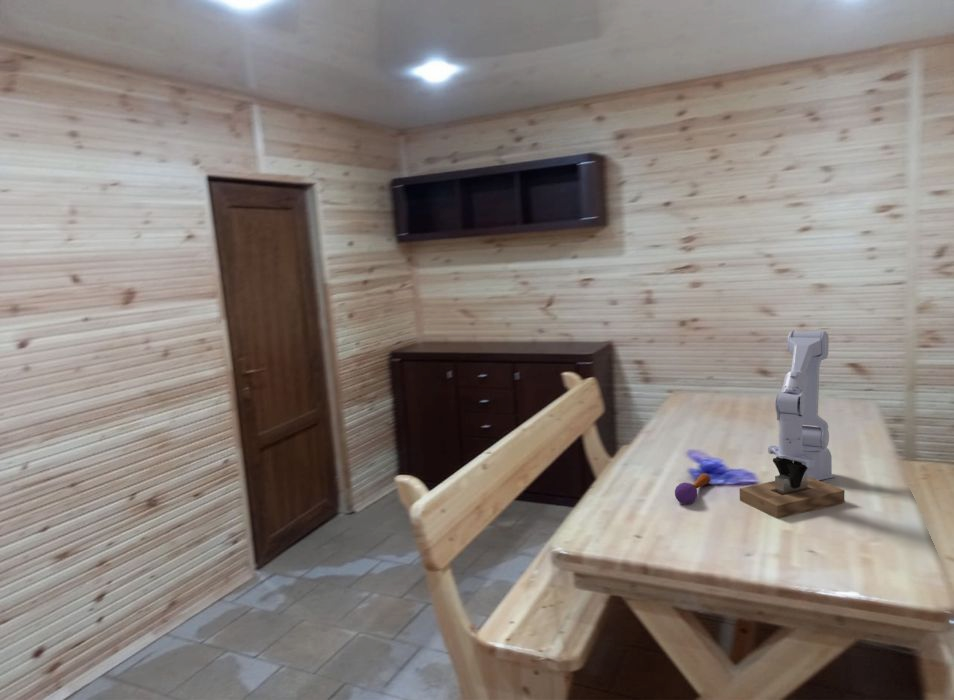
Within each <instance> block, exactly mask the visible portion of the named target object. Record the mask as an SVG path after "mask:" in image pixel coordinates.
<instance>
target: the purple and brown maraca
mask: <svg viewBox="0 0 954 700" xmlns="http://www.w3.org/2000/svg"><path fill="white" fill-rule="evenodd" d="M709 481H710V482H711V477H710V475H709V474H708V473H701V474H700V475H699V476H698V477H697V479H696V480H695V481H694V483H689V482H682V483H679V484H678V485H676V487H675V490H674V496H675V499H676V500H677V501H678V502H679V503H681V504H682V505H686V506H687V505H691V504H693V503H694V502H695V501H696V500H697V498H698V489H699V488H701V487H704V486H706V485H708V484H710V483H709Z"/></svg>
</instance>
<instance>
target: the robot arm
mask: <svg viewBox="0 0 954 700" xmlns="http://www.w3.org/2000/svg"><path fill="white" fill-rule="evenodd" d="M829 341H830V339H829V334H828V332H827V331H825V330H822V331H817V330H816V331H815V330H814V331H811V330H807V331H806V330H803V331H802V330H801V331H800V330H790V332H789V333H788V336H787V349H788V350H789V353H790V354H791V355H792V361H791V369H790V371H788V372H787V373H786V374H785V376H784V378H783V379H784V380H783V383H782V387H781V392H780V394H777V395H776V397H775V402H774V403H775V405H774V406H775V412H776V421H778V446H777V445H771V446H767V453H768V454H770V455H775V456H776V457H775V458H772V462H773V464H774V465H775V467H776V468H777V471H778V474H779V475H782V474H787V473H790V476H791V485H792V488H799V487H800V485H801V481H802V478H803V475H804V473H805V474H807V476H808V477H811V478H813V479H816V480H819V481H823V480H827V479H831V478H834V477H835V475H833V474H832V469H833V468H832V467H833V466H832V465H833V464H832V463H833V462H832V460H833V459H832V453H831V451H830V449H829V448H828V446H829V442H830V432H829V424H828V422H827V421H826V420H825V419H823V417H821V416H819V391H820V390H819V389H820V388H819V387H820V367H821V362H822V361H824V360H826V359H828V355H829V343H830V342H829Z"/></svg>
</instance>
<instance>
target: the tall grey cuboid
mask: <svg viewBox="0 0 954 700" xmlns="http://www.w3.org/2000/svg"><path fill="white" fill-rule="evenodd" d="M774 481H775V492H776V493H778V494H780V495H786V494H791V493H795V492H800V491H804V490H808V484H807V474H805V473H804V475H803V478H802V481H801V485H800V487H799V488H792V485H791V476H790V473H787V474H782V475H780V474H779V475H778V474H777V475H775V477H774Z"/></svg>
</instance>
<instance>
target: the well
mask: <svg viewBox="0 0 954 700" xmlns="http://www.w3.org/2000/svg"><path fill="white" fill-rule="evenodd" d="M807 484H808V490H804V491H800V492H795V493H791V494H786V495H780V494H778V493H776V492H775V480H772V481H768V482H763V483H758V484H754V485H748V486H745V487H744V486H743V487H740V488H739V501H740V502H742V503H745V504H747V505H749V506H751V507H753V508H755V509H757V510H759V511H760V512H763V513H764V514H767V515H769V516H771V517H773V518H774V519H778V520H779V519H782V518H785V517H790V516H795V515H799V514H803V513H807V512H812V511H816V510H821V509H824V508H829V507H833V506H837V505H842V504H845V494H846V493H845V489H842V488H839V487H836V486H834V485H831V484H829V483H827V482H824V481H822V480H816V479H813V478H811V477H808V476H807Z"/></svg>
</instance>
